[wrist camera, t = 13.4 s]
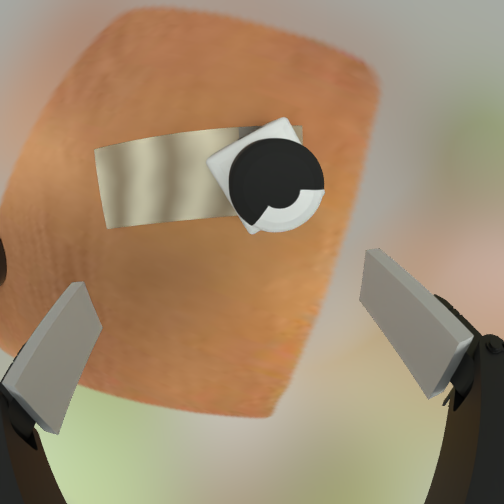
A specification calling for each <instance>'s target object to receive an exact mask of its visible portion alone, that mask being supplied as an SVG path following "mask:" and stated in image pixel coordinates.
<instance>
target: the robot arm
mask: <svg viewBox="0 0 504 504" xmlns="http://www.w3.org/2000/svg"><path fill="white" fill-rule="evenodd" d="M5 276H6V260H5V254H4V250H3V246H2V243H1V241H0V286H1V285H2V284H3V282H4V280H5ZM360 302H361V303H362V304H363V306H364V307H365V308H366V310H367V311H368V312H369V314H370V315H371V316H372V318H373V319H374V320H375V322H376V323H377V325H378V326H379V327H380V329H381V330H382V332H383V333H384V334H385V336H386V337H387V339H388V340H389V342H390V343H391V344H392V346H393V347H394V349H395V350H396V352H397V353H398V354H399V356H400V357H401V359H402V360H403V362H404V363H405V365H406V366H407V367H408V369H409V371H410V372H411V374H412V375H413V377H414V378H415V380H416V381H417V383H418V384H419V386H420V387H421V389H422V390H423V392H424V394H425V395H426V397H427V398H428V399H430V398H432V397H434V396H436V395H438V394H440V393H442V392H443V391H444V390H445V388H446V386H447V385H448V383H449V382H451V383H452V384H453V386H454V387H453V388H452V390H451V391H450V393H449V394H448V396H447V397H446V399H445V400H444V402H443V406H445V405H446V403H447V402H448V400H449V399H450V402H449V406H448V407H449V409H448V415H447V421H446V427H445V432H444V437H443V442H442V447H441V451H440V456H439V459H438V463H437V466H436V470H435V473H434V477H433V480H432V483H431V486H430V489H429V492H428V495H427V498H426V500H425V503H424V504H504V341H503V340H502V339H500V338H499V337H498V336H495V335H492V334H487V335H484V336H482V335H481V334H480V333H479V332H478V331H477V330H476V329H475V328H474V327H473V326H472V325H471V324H470V323H469V322H468V321H467V320H466V319H465V318H464V317H463V316H462V315H460V314H459V312H458V311H457V310H456V309H454V308H453V306H452V305H450V303H448V302H447V301H446V300H445V299H443V298H441V297H439V296H437V295H432V294H431V293H430V292H429V291H428V290H427V289H426V288H425V287H424V286H423V285H421V283H419V282H418V281H417V280H416V279H415V278H414V277H413V276H412V275H410V274H409V273H408V272H407V271H406V270H405V269H403V268H402V267H401V266H400V265H399V264H398V263H397V262H395V261H394V260H393V259H392V258H391V257H389V256H388V255H387V254H386V253H385V252H383V251H382V250H381V249H380V248H378V249H370V250H366V253H365V262H364V271H363V278H362V286H361V292H360ZM102 328H103V327H102V325H101V323H100V321H99V318H98V316H97V314H96V311H95V309H94V307H93V304H92V302H91V299H90V297H89V294H88V291H87V289H86V286H85V283H84V281H83V282H72V283H71V284H70V285H69V286H68V288H67V289H66V290H65V291H64V293H63V294H62V295H61V296H60V298H59V299H58V300H57V301H56V303H55V304H54V305H53V307H52V308H51V309H50V311H49V312H48V313H47V315H46V316H45V317H44V319H43V320H42V321H41V323H40V324H39V325H38V327H37V328H36V330H35V331H34V333H33V334H32V335H31V337H30V338H29V340H28V341H27V342H26V343H25V344H24V345H23V346H22V348H21V349H20V351H19V352H18V356H16V357H15V359H14V360H13V363H12V364H11V365H10V367H9V369H8V370H7V372H6V374H5V375H4V377H3V379H2V380H1V382H0V504H67V503H66V501H65V499H64V497H63V495H62V493H61V491H60V489H59V487H58V485H57V482H56V480H55V478H54V475H53V473H52V471H51V468H50V466H49V463H48V461H47V457H46V455H45V452H44V449H43V446H42V443H41V440H40V437H39V434H38V432H37V430H36V429H35V428H34V425H35V423H37V424H38V425H39V426H40V427H41V428H42V429H43V430H44V431H46V432H50V433H53V434H57V435H58V434H59V431H60V428H61V426H62V423H63V420H64V417H65V414H66V411H67V409H68V406H69V403H70V401H71V398H72V396H73V393H74V391H75V388H76V386H77V383H78V381H79V379H80V376H81V374H82V371H83V369H84V367H85V365H86V362H87V360H88V358H89V356H90V353H91V351H92V349H93V347H94V345H95V343H96V341H97V339H98V337H99V334H100V332H101V330H102Z"/></svg>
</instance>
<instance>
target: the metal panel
mask: <svg viewBox="0 0 504 504" xmlns="http://www.w3.org/2000/svg"><path fill="white" fill-rule="evenodd" d="M260 127H261V126H251V127H233V128H220V129H209V130H199V131H191V132H183V133H175V134H169V135H162V136H156V137H150V138H144V139H139V140H134V141H129V142H124V143H119V144H115V145H110V146H106V147H102V148H98V149H94V152H95V161H96V169H97V176H98V183H99V189H100V195H101V201H102V206H103V212H104V217H105V222H106V226H107V229H112V228H119V227H128V226H136V225H144V224H153V223H162V222H172V221H182V220H192V219H203V218H214V217H226V216H238V215H237V213H236V211H235V210H234V208H233V207H232V205H231V203H230V202H229V200H228V199H227V197H226V195H225V194H224V192H223V190H222V189H221V187H220V186H219V184H218V182H217V181H216V179H215V178H214V176H213V174H212V173H211V171H210V170H209V168H208V166H207V165H206V160H207V159H208V158H209V157H210V156H211V155H212V154H213V153H215V152H217V151H218V150H220V149H222V148H223V147H225V146H227V145H229V144H230V143H232V142H234V141H236V140H237V139H239V138H241V137H243V136H245V135H246V134H248V133H250V132H252V131H254V130H256V129H258V128H260ZM292 128H293V129H294V131H295V133H296V135H297V137H298V139H299V140H300V142H301V144H302V145H303V136H302V126H292Z"/></svg>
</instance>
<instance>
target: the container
mask: <svg viewBox="0 0 504 504" xmlns="http://www.w3.org/2000/svg"><path fill="white" fill-rule="evenodd" d="M206 165H207V166H208V168H209V170H210V171H211V173H212V174H213V176H214V178H215V179H216V181H217V182H218V184H219V186H220V187H221V189H222V190H223V192H224V194H225V195H226V197H227V199H228V200H229V202H230V203H231V205H232V207H233V208H234V210H235V211H236V213H237V215H238V216H239V218H240V220H241V221H242V223H243V224H244V226H245V228H246V229H247V231H248V232H249V233H250V234H255V233H257V232H258V231H260V230H263V231H267V232H284V231H289V230H292V229H294V228H296V227H298V226H300V225H302V224H303V223H305V222H306V221H307V220H308V219H309V218H311V216H312V215H313V214H314V213H315V211H316V210H317V208H318V207H319V204H320V202H321V200H322V196H323V195H324V194H325V191H324V177H323V172H322V169H321V167H320V164H319V162H318V161H317V159H316V158H315V156H314V155H313V154H312V153H311V152H310V151H309V150H308V149H307V148H306V147H304V146H303V145H302V144H301V142H300V140H299V139H298V137H297V135H296V133H295V131H294V129H293V128H292V126H291V124H290V122H289V120H288V119H287V118H285V117H283V118H279V119H277V120H274V121H272V122H269V123H267V124H265V125H263V126H261V127H260V128H258V129H256V130H254V131H252V132H250V133H248V134H246V135H245V136H243V137H241V138H239V139H237V140H236V141H234V142H232V143H230V144H229V145H227V146H225V147H223V148H222V149H220V150H218V151H217V152H215V153H213V154H212V155H211V156H210V157H209V158H208V159H207V160H206Z"/></svg>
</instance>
